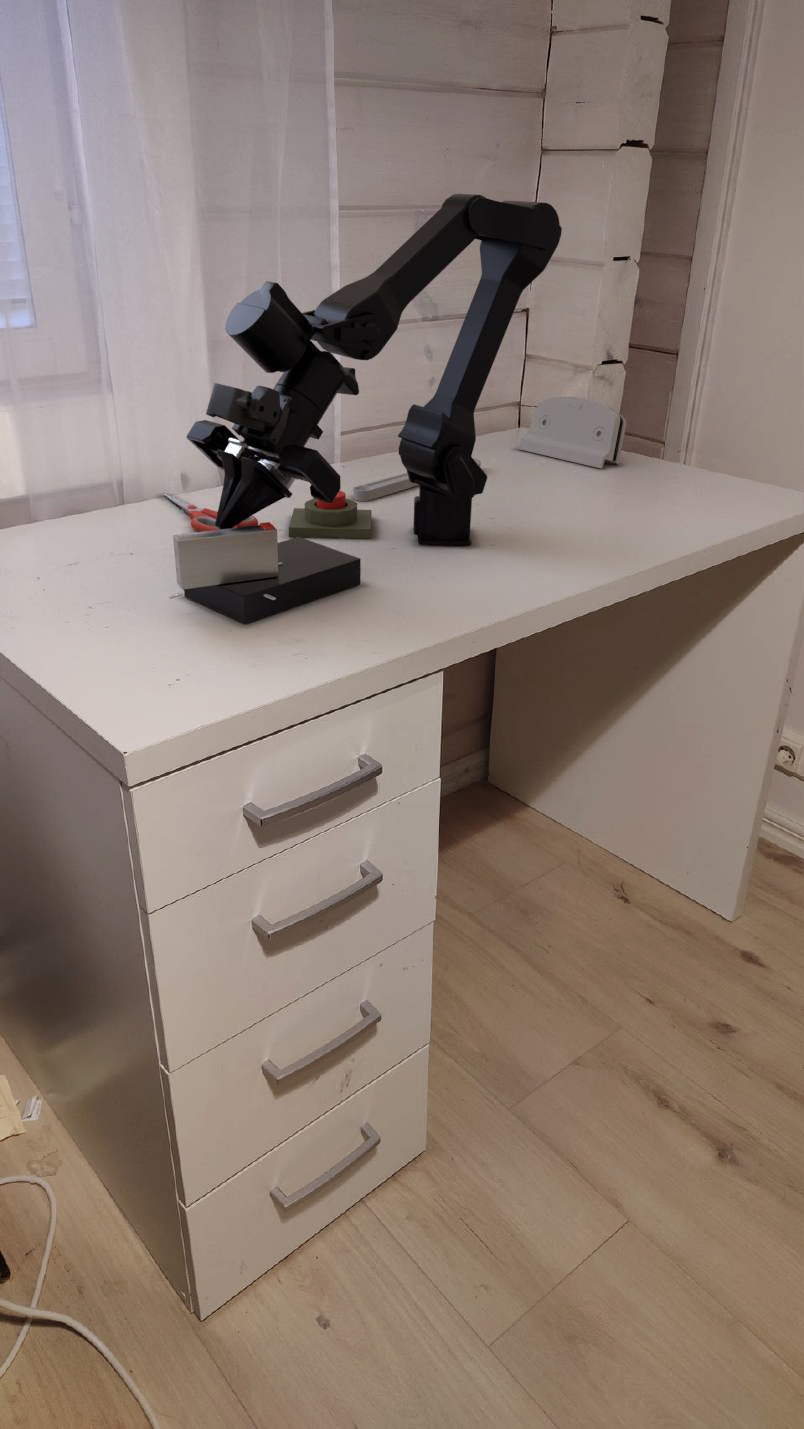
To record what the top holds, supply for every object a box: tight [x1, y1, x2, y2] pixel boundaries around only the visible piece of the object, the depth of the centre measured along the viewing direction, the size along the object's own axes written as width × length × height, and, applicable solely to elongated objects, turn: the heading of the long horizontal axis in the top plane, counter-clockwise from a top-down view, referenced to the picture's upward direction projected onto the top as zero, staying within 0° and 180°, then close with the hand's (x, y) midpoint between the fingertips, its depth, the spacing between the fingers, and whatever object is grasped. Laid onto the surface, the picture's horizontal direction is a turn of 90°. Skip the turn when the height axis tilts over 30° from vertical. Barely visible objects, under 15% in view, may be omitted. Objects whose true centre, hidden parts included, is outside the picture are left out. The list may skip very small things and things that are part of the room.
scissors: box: [162, 492, 259, 532], centre depth 129 cm, size 8×21×2 cm, turn 48°
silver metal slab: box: [172, 521, 279, 591], centre depth 100 cm, size 10×2×5 cm, turn 115°
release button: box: [317, 490, 347, 509], centre depth 125 cm, size 4×4×2 cm
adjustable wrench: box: [352, 458, 482, 502], centre depth 146 cm, size 25×6×2 cm, turn 133°
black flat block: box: [168, 537, 362, 625], centre depth 105 cm, size 14×22×3 cm, turn 137°
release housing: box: [288, 498, 373, 539], centre depth 126 cm, size 10×8×3 cm
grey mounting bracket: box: [518, 396, 627, 469], centre depth 161 cm, size 17×5×10 cm, turn 47°
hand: (219, 528), depth 103 cm, fingers closed
